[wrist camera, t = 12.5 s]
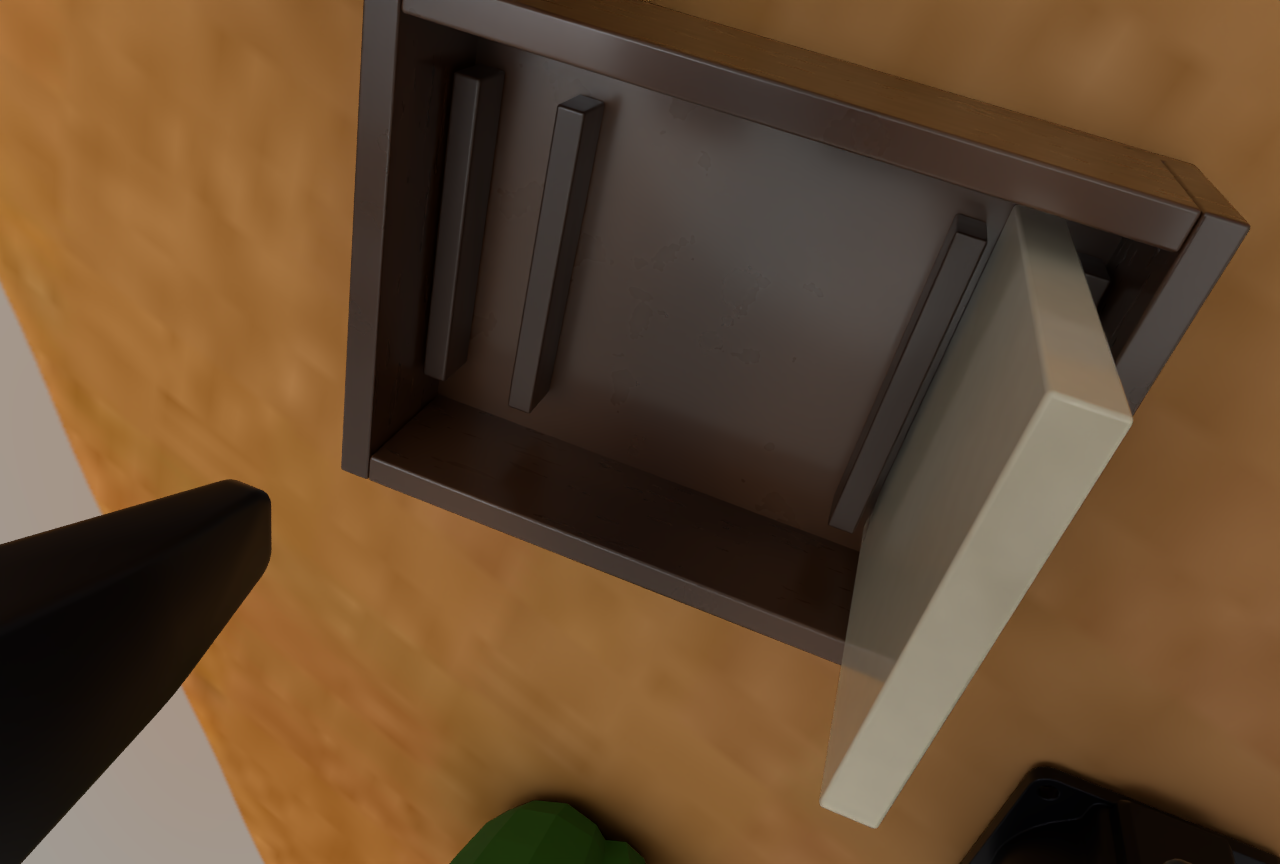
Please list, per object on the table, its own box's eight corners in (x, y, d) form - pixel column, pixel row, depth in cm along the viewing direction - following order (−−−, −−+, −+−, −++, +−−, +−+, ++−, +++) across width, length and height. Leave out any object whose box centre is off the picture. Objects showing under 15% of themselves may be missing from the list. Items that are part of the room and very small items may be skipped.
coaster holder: (1197, 164, 16) (1253, 226, 13) (951, 596, 22) (950, 709, 19) (468, -52, 18) (364, -44, 15) (422, 396, 24) (340, 469, 21)
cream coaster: (1068, 218, 17) (1138, 421, 10) (904, 542, 21) (877, 832, 14) (1014, 201, 17) (1048, 390, 10) (863, 526, 21) (817, 807, 14)
